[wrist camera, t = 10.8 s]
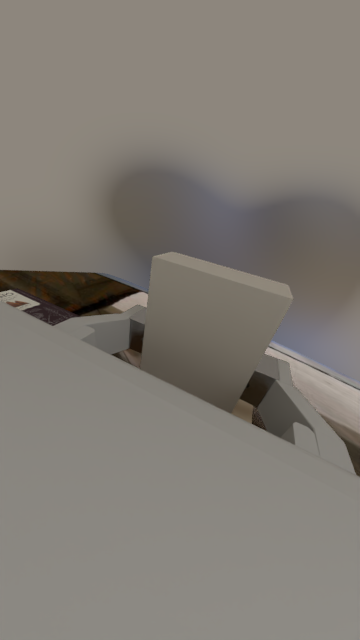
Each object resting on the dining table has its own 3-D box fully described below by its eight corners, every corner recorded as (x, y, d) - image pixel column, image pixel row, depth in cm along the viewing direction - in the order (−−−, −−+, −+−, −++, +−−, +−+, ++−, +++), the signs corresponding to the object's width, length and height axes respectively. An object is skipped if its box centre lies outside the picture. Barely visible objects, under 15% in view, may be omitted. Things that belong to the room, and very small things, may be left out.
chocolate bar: (30, 340, 28) (-41, 301, 32) (32, 345, 28) (-38, 306, 33) (81, 316, 35) (17, 288, 40) (81, 321, 35) (18, 292, 40)
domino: (149, 393, 13) (172, 251, 8) (215, 428, 12) (288, 285, 7) (134, 414, 12) (152, 256, 7) (207, 455, 11) (293, 299, 6)
